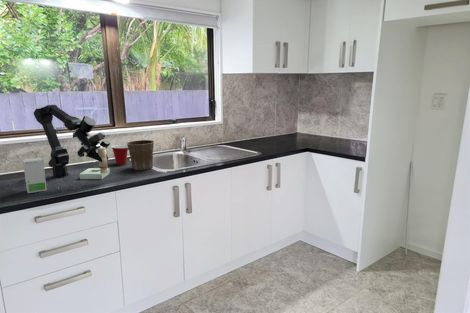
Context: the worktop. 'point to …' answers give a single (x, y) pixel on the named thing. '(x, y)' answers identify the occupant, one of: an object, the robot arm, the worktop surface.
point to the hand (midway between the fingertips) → (104, 160)
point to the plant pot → (141, 154)
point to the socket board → (93, 173)
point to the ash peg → (103, 156)
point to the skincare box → (34, 175)
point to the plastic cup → (120, 154)
